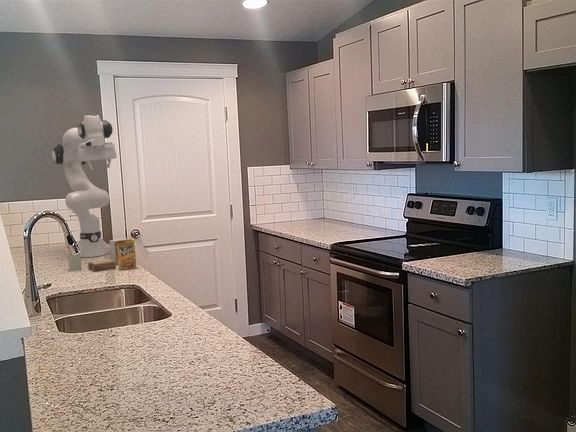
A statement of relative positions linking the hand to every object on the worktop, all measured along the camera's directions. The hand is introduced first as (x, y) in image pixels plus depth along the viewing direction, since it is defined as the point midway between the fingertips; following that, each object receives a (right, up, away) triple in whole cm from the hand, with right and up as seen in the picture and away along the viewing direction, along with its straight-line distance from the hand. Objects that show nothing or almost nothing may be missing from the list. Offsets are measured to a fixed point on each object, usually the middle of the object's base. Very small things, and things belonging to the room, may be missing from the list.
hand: (100, 168), depth 323 cm
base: (+5, -54, -13) cm, 56 cm away
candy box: (+19, -54, -15) cm, 59 cm away
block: (-9, -54, -13) cm, 57 cm away
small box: (+11, -52, +1) cm, 53 cm away
